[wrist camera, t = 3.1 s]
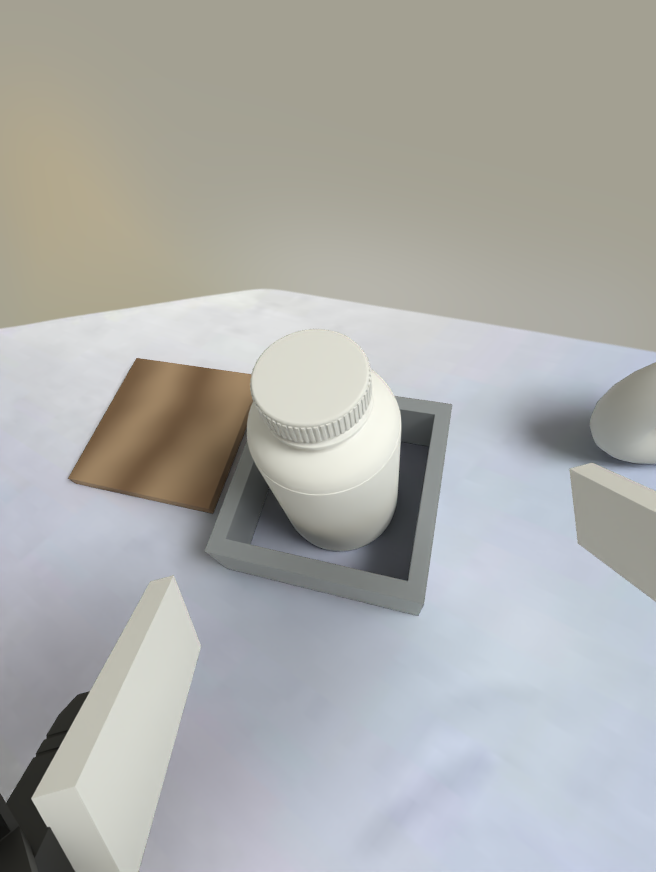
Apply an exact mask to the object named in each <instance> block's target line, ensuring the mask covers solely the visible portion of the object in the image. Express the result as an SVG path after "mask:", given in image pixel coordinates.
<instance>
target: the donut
mask: <svg viewBox="0 0 656 872" xmlns="http://www.w3.org/2000/svg"><path fill="white" fill-rule="evenodd" d="M590 429H591V433H592V436H593V440H594V441H595V443H596V445H597V446H598V447H599V448H601V449H602V450H603V451H605V452H606V453H607V454H609V455H610V456H612V457H614V458H616V459H619V460H623V461H627V462H631V463H643V464H656V362H655V363H653V364H651V365H649V366H646V367H644V368H642V369H640V370H637V371H635V372H633V373H632V374H630V375H629V376H627V377H626V378H624V379H623V380H621V381H619V382H618V383H616V384H615V385H614V386H613V387H612V388H611V389H610V390H609V391H608V392H607V393H606V394H605V395H604V396H603V397H602V398H601V399H600V400H599V401H598V402H597V404H596V406H595V408H594V411H593V413H592V415H591V419H590Z"/></svg>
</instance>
